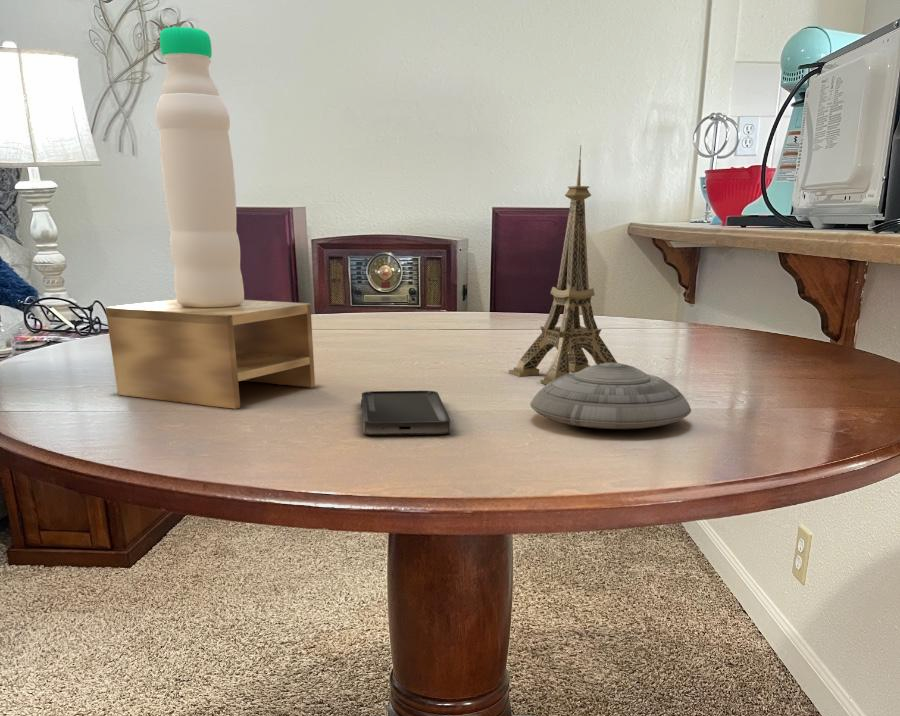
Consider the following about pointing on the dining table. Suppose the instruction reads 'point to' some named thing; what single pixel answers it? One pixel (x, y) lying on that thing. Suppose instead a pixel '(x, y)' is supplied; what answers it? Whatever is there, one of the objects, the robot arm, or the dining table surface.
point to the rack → (209, 349)
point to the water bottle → (198, 175)
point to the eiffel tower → (569, 305)
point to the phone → (404, 413)
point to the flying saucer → (611, 399)
